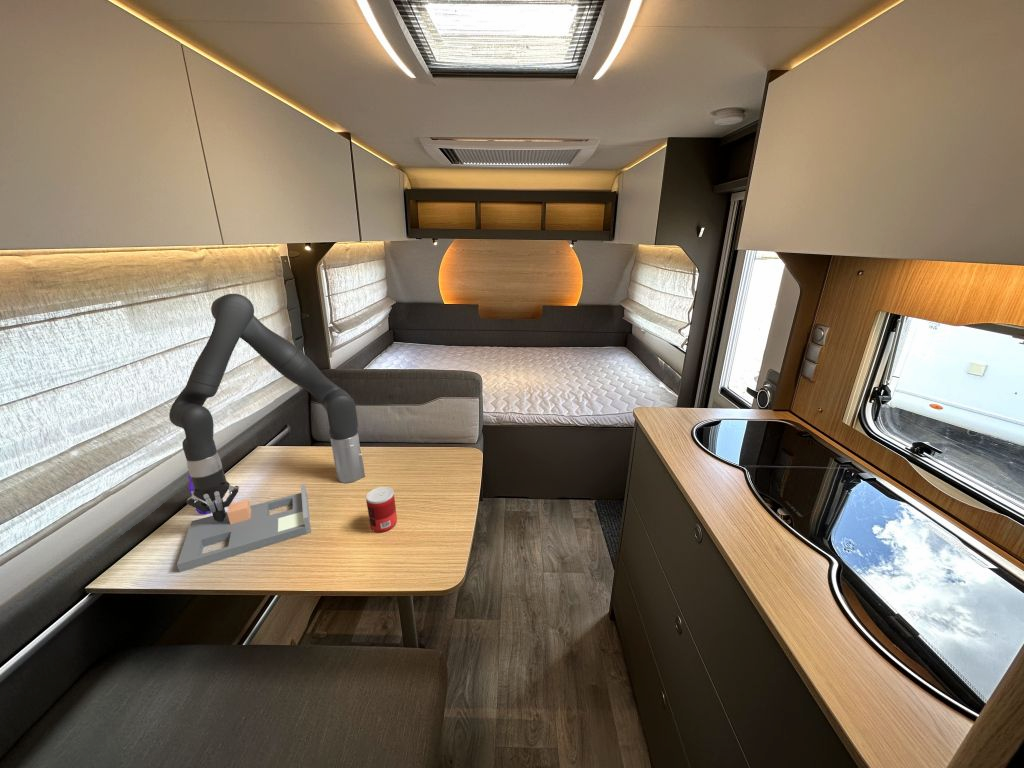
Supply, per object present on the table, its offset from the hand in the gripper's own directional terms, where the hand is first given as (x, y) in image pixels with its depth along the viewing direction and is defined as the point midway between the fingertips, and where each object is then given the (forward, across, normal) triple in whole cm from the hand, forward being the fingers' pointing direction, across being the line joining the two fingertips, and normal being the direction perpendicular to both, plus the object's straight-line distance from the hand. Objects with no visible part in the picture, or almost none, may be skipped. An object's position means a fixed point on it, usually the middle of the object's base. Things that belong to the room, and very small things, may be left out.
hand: (220, 519), depth 119 cm
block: (+1, -5, 0) cm, 5 cm away
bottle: (+3, +5, -14) cm, 15 cm away
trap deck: (+3, -7, +5) cm, 9 cm away
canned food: (+3, -43, +22) cm, 48 cm away
